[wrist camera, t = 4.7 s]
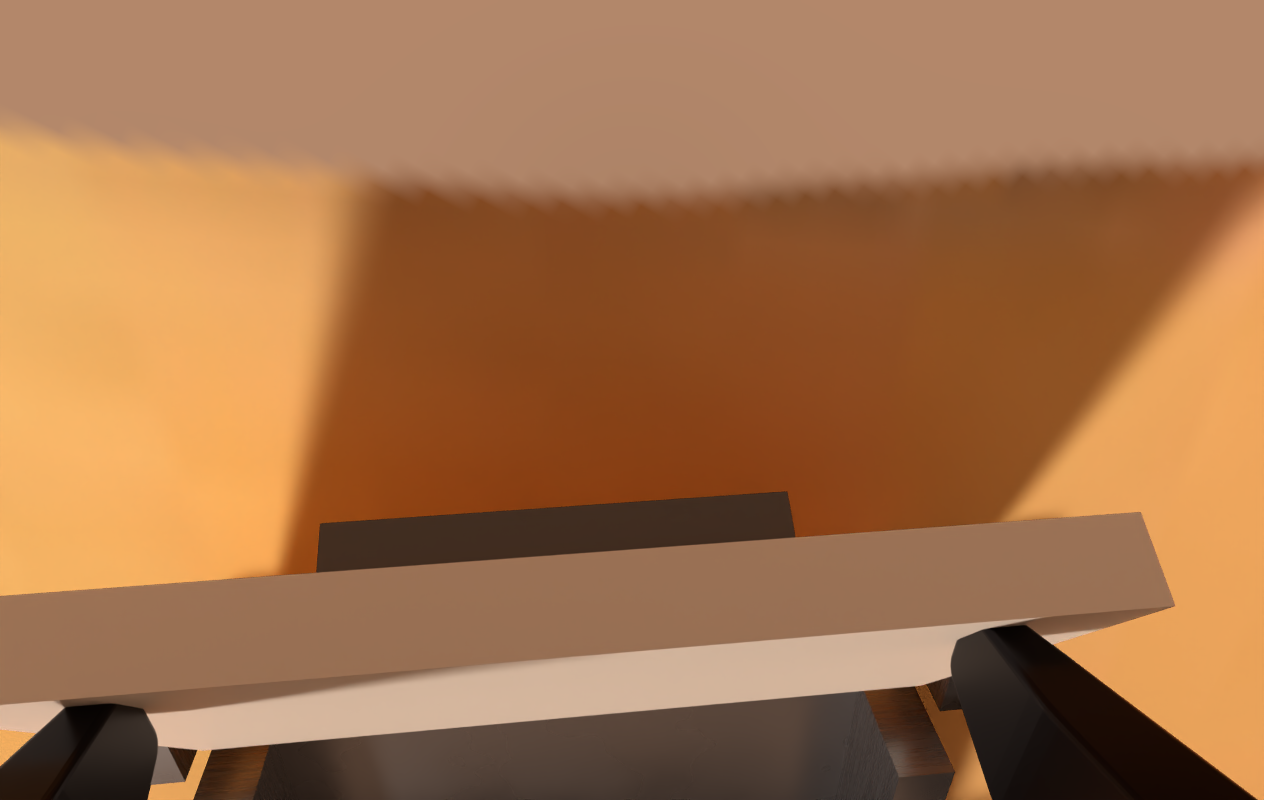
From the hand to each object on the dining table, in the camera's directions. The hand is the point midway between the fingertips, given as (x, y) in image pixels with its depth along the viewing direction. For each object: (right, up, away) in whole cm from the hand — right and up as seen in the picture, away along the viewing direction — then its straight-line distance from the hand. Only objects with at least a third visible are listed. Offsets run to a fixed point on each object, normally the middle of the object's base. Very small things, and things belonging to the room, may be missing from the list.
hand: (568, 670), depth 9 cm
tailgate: (0, -2, +6) cm, 6 cm away
